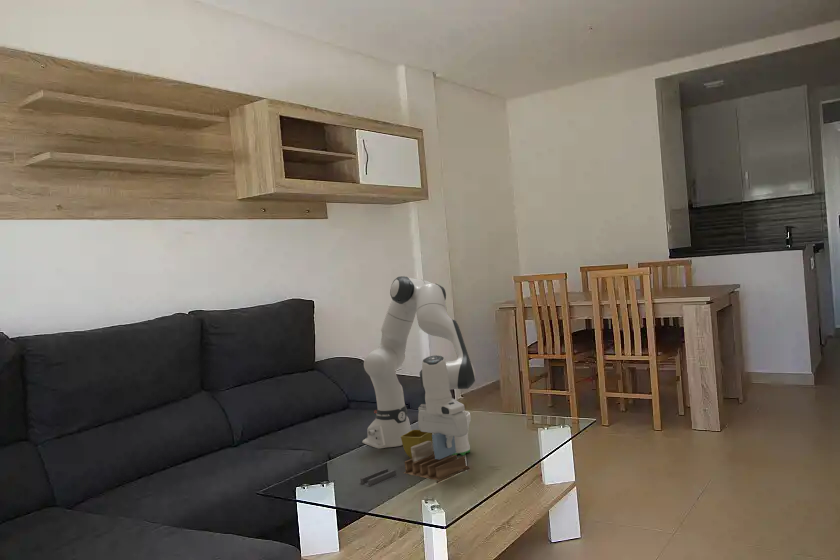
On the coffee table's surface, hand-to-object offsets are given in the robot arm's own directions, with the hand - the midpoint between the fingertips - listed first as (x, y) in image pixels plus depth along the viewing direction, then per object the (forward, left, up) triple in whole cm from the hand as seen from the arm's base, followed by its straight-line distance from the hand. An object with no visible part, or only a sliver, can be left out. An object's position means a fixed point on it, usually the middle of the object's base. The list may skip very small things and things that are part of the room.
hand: (445, 446), depth 223 cm
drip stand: (-17, -16, -9) cm, 25 cm away
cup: (-13, +19, -9) cm, 25 cm away
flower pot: (-24, +9, -9) cm, 27 cm away
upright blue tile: (0, 0, -3) cm, 3 cm away
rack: (-6, 0, -9) cm, 11 cm away
